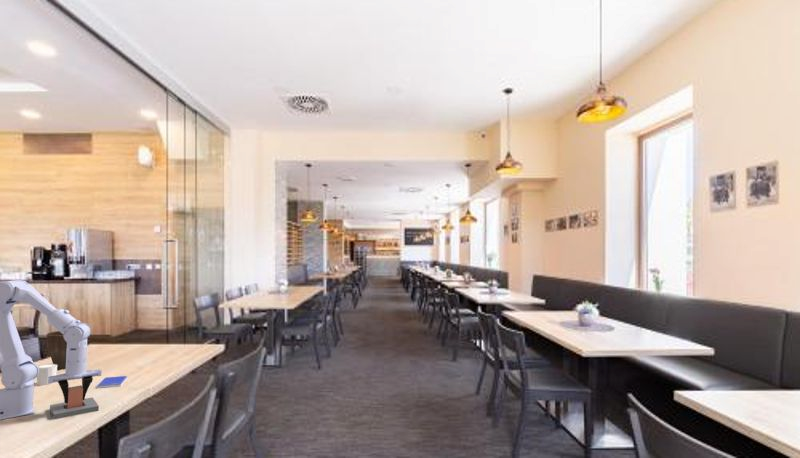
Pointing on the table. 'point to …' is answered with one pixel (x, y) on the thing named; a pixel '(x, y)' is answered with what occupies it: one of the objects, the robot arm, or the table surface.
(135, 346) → the table surface
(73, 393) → the reddish brown block
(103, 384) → the hard drive
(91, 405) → the socket plate
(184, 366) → the table surface
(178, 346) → the table surface
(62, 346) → the plant pot
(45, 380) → the white tapered cup
